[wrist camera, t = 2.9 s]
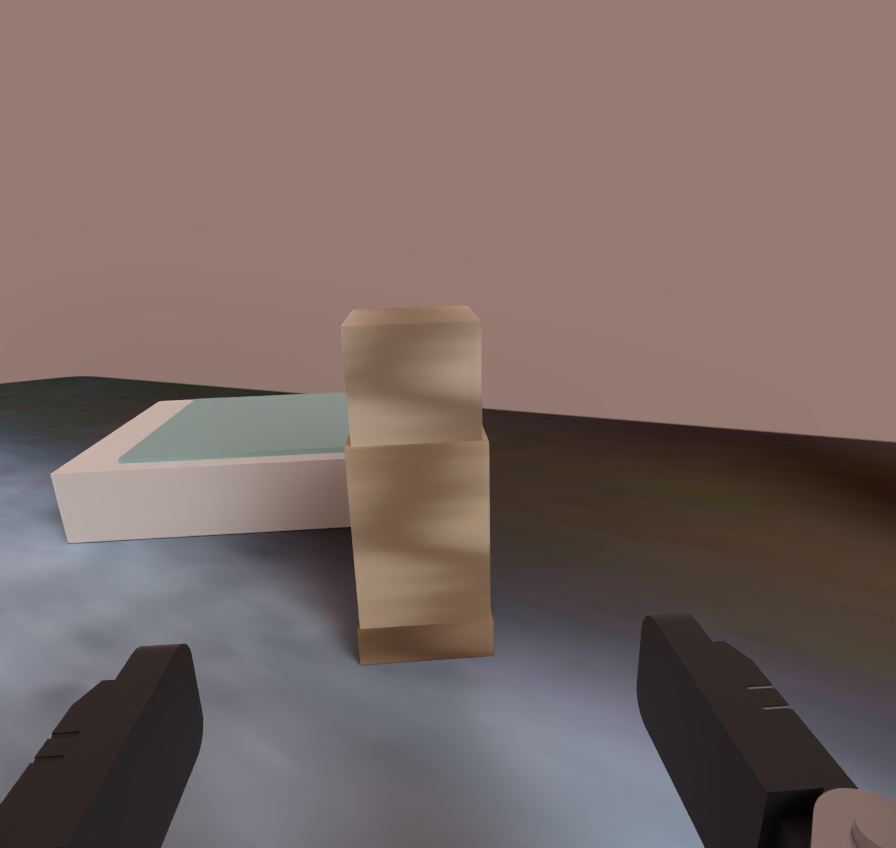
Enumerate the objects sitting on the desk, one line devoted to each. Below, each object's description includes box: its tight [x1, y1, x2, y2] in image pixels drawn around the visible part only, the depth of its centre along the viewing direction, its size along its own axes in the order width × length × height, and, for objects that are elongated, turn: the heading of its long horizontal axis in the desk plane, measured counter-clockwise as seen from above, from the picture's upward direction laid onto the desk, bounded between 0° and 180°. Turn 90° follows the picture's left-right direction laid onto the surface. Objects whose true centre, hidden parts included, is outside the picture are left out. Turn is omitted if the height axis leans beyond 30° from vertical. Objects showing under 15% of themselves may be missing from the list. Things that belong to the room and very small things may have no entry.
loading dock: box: [50, 392, 351, 543], centre depth 38 cm, size 18×14×4 cm
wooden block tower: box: [341, 306, 494, 665], centre depth 22 cm, size 5×5×12 cm
